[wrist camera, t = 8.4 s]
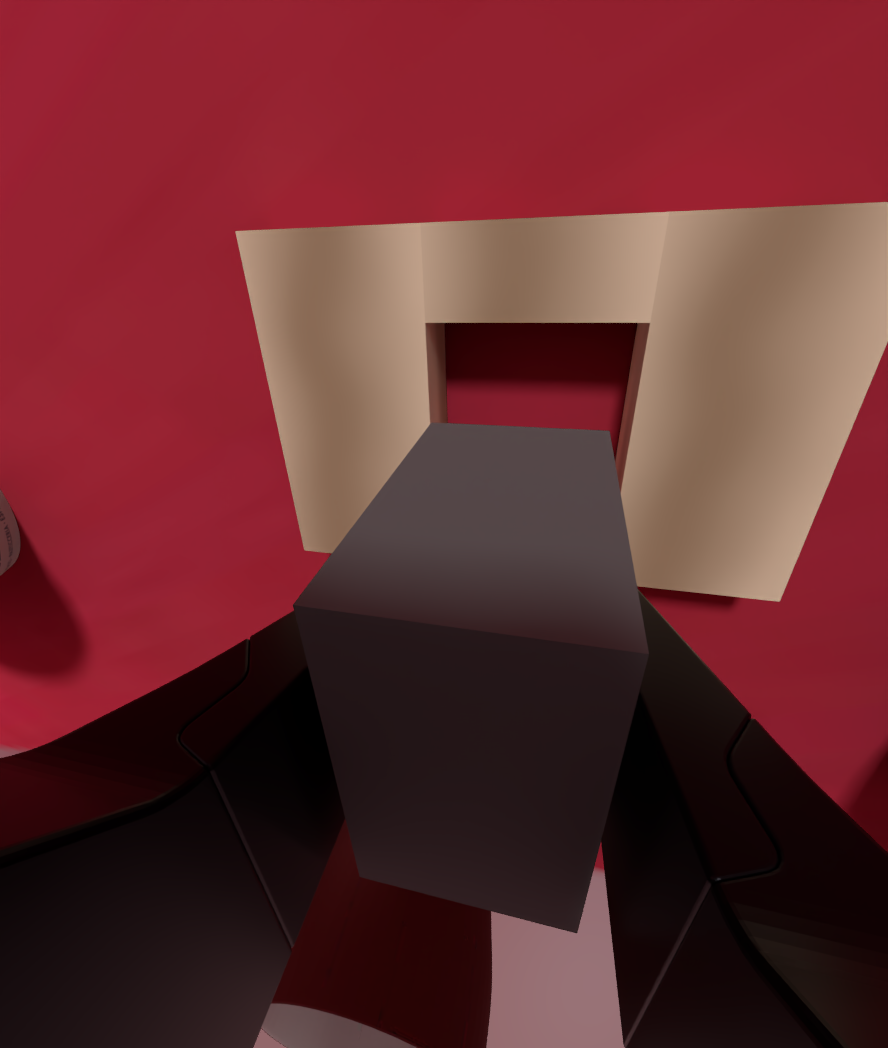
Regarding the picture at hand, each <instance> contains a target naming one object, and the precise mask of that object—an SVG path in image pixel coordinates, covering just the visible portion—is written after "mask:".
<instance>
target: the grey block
mask: <svg viewBox="0 0 888 1048" xmlns="http://www.w3.org/2000/svg"><path fill="white" fill-rule="evenodd" d="M293 607H294V611H295V616H296V620H297V624H298V628H299V632H300V636H301V640H302V644H303V648H304V652H305V656H306V660H307V664H308V668H309V672H310V677H311V681H312V685H313V689H314V693H315V697H316V701H317V705H318V709H319V713H320V717H321V721H322V725H323V729H324V734H325V738H326V742H327V746H328V750H329V754H330V758H331V762H332V766H333V770H334V774H335V778H336V782H337V786H338V791H339V795H340V799H341V803H342V807H343V811H344V815H345V819H346V823H347V827H348V831H349V835H350V839H351V843H352V848H353V852H354V856H355V860H356V864H357V868H358V872H359V876H360V877H362V878H366V879H370V880H374V881H377V882H381V883H385V884H389V885H393V886H397V887H401V888H404V889H408V890H412V891H416V892H420V893H424V894H427V895H431V896H435V897H439V898H443V899H447V900H451V901H454V902H458V903H462V904H466V905H470V906H474V907H478V908H481V909H485V910H489V911H493V912H497V913H501V914H505V915H508V916H513V917H516V918H520V919H524V920H528V921H531V922H535V923H539V924H543V925H547V926H551V927H555V928H558V929H562V930H567V931H570V932H574V933H577V931H578V928H579V924H580V920H581V916H582V912H583V908H584V904H585V900H586V897H587V893H588V889H589V885H590V881H591V877H592V873H593V869H594V866H595V862H596V858H597V854H598V850H599V846H600V842H601V838H602V835H603V831H604V827H605V823H606V819H607V815H608V811H609V807H610V804H611V800H612V796H613V792H614V788H615V784H616V780H617V776H618V772H619V769H620V765H621V761H622V757H623V753H624V749H625V745H626V741H627V738H628V734H629V730H630V726H631V722H632V718H633V714H634V710H635V707H636V703H637V699H638V695H639V691H640V687H641V683H642V679H643V676H644V672H645V668H646V664H647V660H648V656H649V651H648V646H647V640H646V634H645V629H644V623H643V617H642V612H641V606H640V600H639V595H638V589H637V583H636V578H635V572H634V566H633V561H632V555H631V549H630V544H629V538H628V532H627V527H626V521H625V515H624V510H623V504H622V499H621V493H620V487H619V482H618V476H617V470H616V465H615V459H614V453H613V448H612V442H611V436H610V431H601V430H580V429H558V428H537V427H516V426H495V425H473V424H452V423H431V424H430V425H429V426H428V428H427V429H426V430H425V432H424V433H423V434H422V436H421V437H420V438H419V440H418V441H417V442H416V443H415V445H414V446H413V447H412V449H411V450H410V451H409V453H408V454H407V455H406V457H405V458H404V459H403V461H402V462H401V463H400V465H399V466H398V467H397V469H396V470H395V471H394V472H393V474H392V475H391V476H390V478H389V479H388V480H387V482H386V483H385V484H384V486H383V487H382V488H381V490H380V491H379V492H378V494H377V495H376V496H375V498H374V499H373V500H372V501H371V503H370V504H369V505H368V507H367V508H366V509H365V511H364V512H363V513H362V515H361V516H360V517H359V519H358V520H357V521H356V523H355V524H354V525H353V527H352V528H351V529H350V530H349V532H348V533H347V534H346V536H345V537H344V538H343V540H342V541H341V542H340V544H339V545H338V546H337V548H336V549H335V550H334V552H333V553H332V554H331V556H330V557H329V558H328V559H327V561H326V562H325V563H324V565H323V566H322V567H321V569H320V570H319V571H318V573H317V574H316V575H315V577H314V578H313V579H312V581H311V582H310V583H309V585H308V586H307V587H306V588H305V590H304V591H303V592H302V594H301V595H300V596H299V598H298V599H297V600H296V602H295V603H294V604H293Z"/></svg>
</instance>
